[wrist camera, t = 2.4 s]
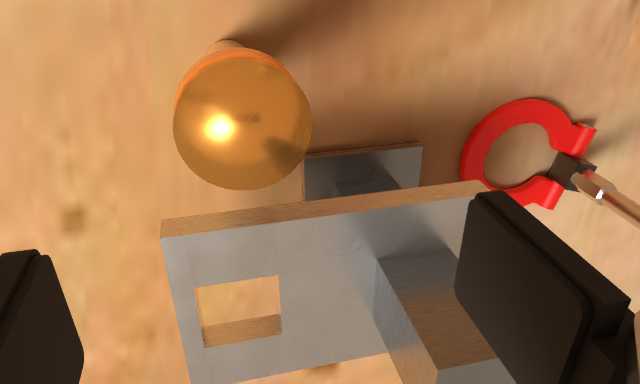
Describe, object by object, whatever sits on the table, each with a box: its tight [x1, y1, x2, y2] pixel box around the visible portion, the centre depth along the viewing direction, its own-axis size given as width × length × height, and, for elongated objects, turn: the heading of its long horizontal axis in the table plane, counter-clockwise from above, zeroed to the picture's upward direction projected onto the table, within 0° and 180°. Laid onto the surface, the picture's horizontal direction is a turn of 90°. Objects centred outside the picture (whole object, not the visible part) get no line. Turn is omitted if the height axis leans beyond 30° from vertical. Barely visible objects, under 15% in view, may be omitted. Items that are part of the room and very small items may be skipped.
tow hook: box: [459, 99, 640, 229], centre depth 29 cm, size 8×13×9 cm
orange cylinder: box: [173, 40, 312, 190], centre depth 22 cm, size 5×5×10 cm
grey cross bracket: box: [160, 142, 517, 384], centre depth 25 cm, size 10×16×16 cm, turn 90°
